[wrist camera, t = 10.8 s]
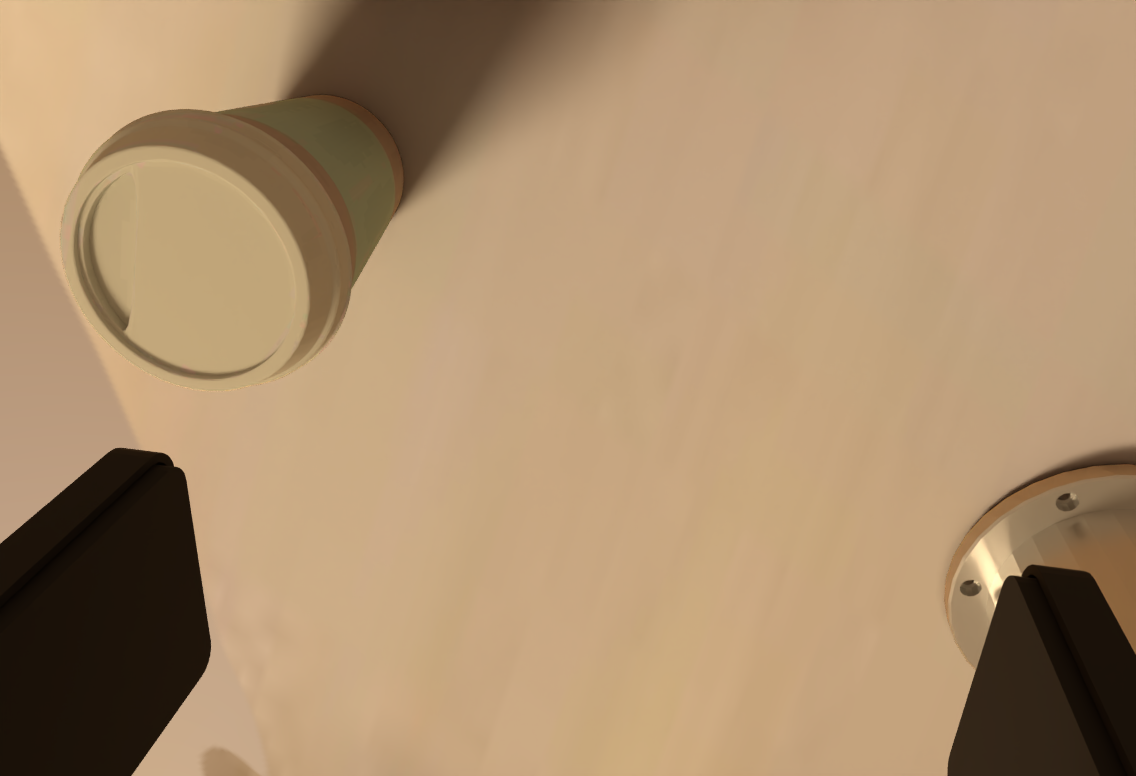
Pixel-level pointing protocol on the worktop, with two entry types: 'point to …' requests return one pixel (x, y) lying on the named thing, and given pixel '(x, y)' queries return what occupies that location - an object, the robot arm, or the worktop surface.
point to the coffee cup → (229, 235)
